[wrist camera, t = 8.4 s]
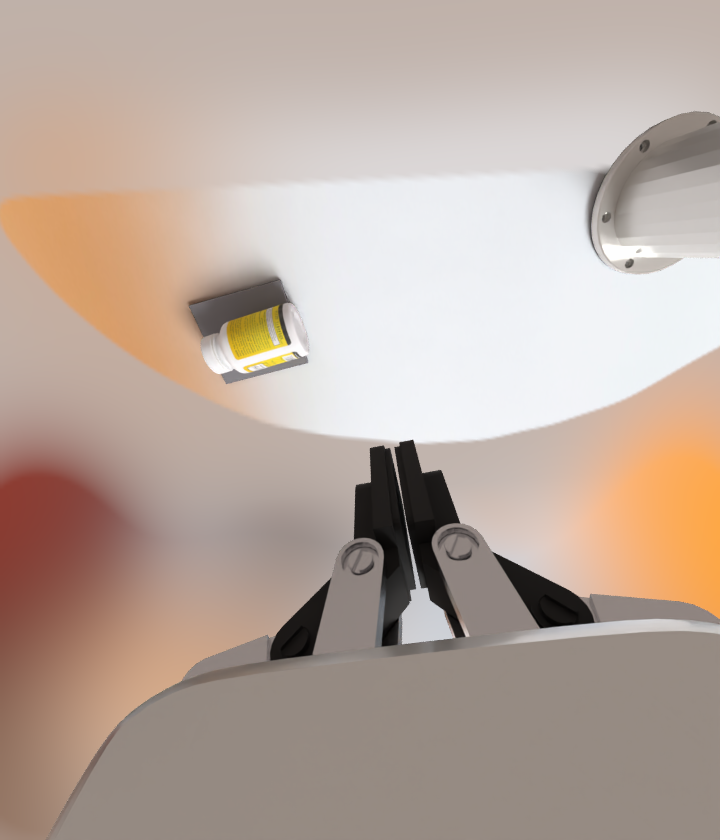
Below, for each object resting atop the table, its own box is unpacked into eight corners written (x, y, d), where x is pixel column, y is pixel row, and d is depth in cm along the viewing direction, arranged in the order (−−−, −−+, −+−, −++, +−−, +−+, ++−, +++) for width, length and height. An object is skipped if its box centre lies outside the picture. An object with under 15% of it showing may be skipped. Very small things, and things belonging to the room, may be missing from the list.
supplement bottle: (289, 290, 31) (199, 319, 32) (291, 324, 28) (191, 355, 29) (309, 332, 36) (228, 356, 37) (312, 365, 33) (224, 391, 34)
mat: (280, 279, 33) (279, 279, 32) (308, 361, 37) (307, 362, 36) (190, 305, 34) (188, 305, 33) (227, 382, 38) (226, 384, 37)
